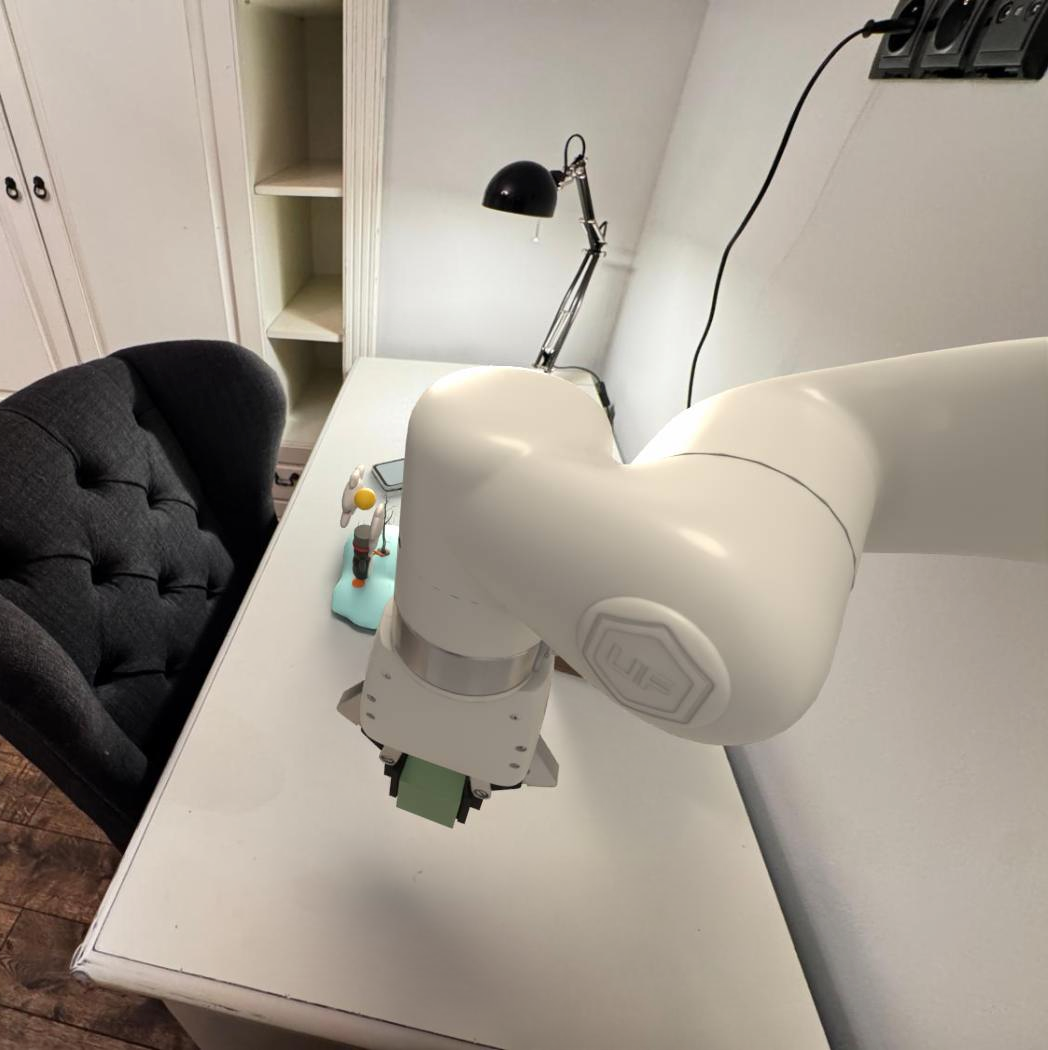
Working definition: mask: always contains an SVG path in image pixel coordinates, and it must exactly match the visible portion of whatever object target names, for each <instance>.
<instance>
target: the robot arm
mask: <svg viewBox="0 0 1048 1050" xmlns="http://www.w3.org/2000/svg"><path fill="white" fill-rule="evenodd" d="M613 436H614V435H613V427H612V425H611V422H610V420H609V417H608V415H607V413H606V410H604V408H603V407H602V406H601V404H600V402H598V401H597V400H596V399H595V398H594V397H593V396H592V395H590V394H589V392H587V391H586V390H584V389H583V388H582V387H580V386H578V385H577V384H575V383H573V382H571V381H568V380H567V379H564V378H562V377H559V376H556V375H554V374H550V373H547V372H543V371H538V370H535V369H530V368H524V367H516V366H496V365H495V366H493V365H490V366H478V367H471V368H467V369H462V370H459V371H456V372H453V373H450V374H448V375H446V376H444V377H441V378H440V379H438V380H437V381H435V382H434V383H432V384H431V385H430V386H429V387H428V388H426V390H425V391H424V392H422V394H421V395H420V396H419V398H418V400H417V401H416V403H415V405H414V406H413V408H412V410H411V413H410V416H409V419H408V424H407V431H406V437H405V446H404V447H405V448H404V457H403V458H404V471H403V484H402V488H401V498H400V511H399V523H398V527H399V534H398V547H397V559H396V572H395V584H394V595H393V596H392V597H391V598H390V599H389V600H388V602H387V603H386V606H385V608H384V610H383V612H382V615H381V618H380V621H379V624H378V628H377V629H376V631H375V634H374V637H373V641H372V644H371V647H370V651H369V655H368V660H367V665H366V670H365V674H364V679H363V680H361V681H360V682H358V683H356V684H354V685H353V686H351V687H350V688H348V689H346V690H344V691H343V692H342V694H341V696H340V698H339V701H338V703H337V704H336V707H335V710H336V711H337V712H338V713H339V714H340V715H341V716H343V717H344V718H346V719H347V720H348V721H350V722H351V723H352V724H354V725H355V726H360V732H361V734H363V735H364V737H366V739H368V741H370V742H371V743H372V744H373V745H374V746H375V747H376V748H378V750H380V752H379V754H378V759H379V760H380V761H381V762H382V763H383V764H384V767H383V776H386V777H389V778H390V783H389V792H388V796H389V797H392V798H395V799H397V795H398V787H399V780H400V776H401V773H402V771H403V769H404V766H405V763H406V760H407V757H408V754H409V755H412V756H414V757H417V758H420V759H423V760H425V761H428V762H431V763H434V764H436V765H439V766H442V767H445V768H448V769H451V770H453V771H456V772H459V773H462V774H465V775H466V778H465V782H464V787H463V791H462V797H461V802H460V805H459V809H458V812H457V816H456V819H455V820H457V821H456V822H457V823H460V824H462V825H465V824H466V821H467V819H468V816H469V813H470V809H471V808H472V809H474V810H477V811H481V807H482V804H483V802H484V800H490V799H491V798H492V794H493V793H492V792H496V791H497V792H498V791H509V790H519V789H522V786H523V785H526V786H527V787H532V788H534V787H536V788H556V787H557V786H558V782H559V772H560V764H559V763H558V760H557V759H556V758H555V756H554V755H553V753H552V751H551V750H550V748H549V746H548V745H547V743H546V742H545V740H544V738H543V737H542V734H541V731H542V727H543V723H544V720H545V717H546V711H547V707H548V702H549V698H550V692H551V686H552V681H553V678H554V671H555V669H554V660H555V656H560V657H561V658H562V659H563V660H564V661H566V662H567V663H568V664H569V665H570V666H571V667H572V668H573V669H574V670H575V671H577V672H578V673H579V674H580V675H581V676H582V677H581V678H583V679H584V680H585V681H586V682H588V683H589V684H590V685H591V686H593V688H595V689H597V690H598V691H599V692H600V693H601V694H603V695H604V696H606V697H607V698H608V699H609V700H611V701H612V702H614V704H616V705H617V706H619V707H620V708H622V709H623V710H625V711H627V712H628V713H630V714H631V715H633V716H635V717H636V718H637V719H639V720H641V721H642V722H644V723H646V724H647V725H650V726H652V727H654V728H656V729H659V730H660V731H662V732H665V733H667V734H669V735H672V736H675V737H677V738H681V739H684V740H687V741H691V742H695V743H700V744H703V745H712V746H719V747H720V746H721V747H733V746H735V747H736V746H747V745H751V744H755V743H760V742H764V741H768V740H769V739H771V738H774V737H776V736H778V735H779V734H782V733H783V732H786V731H787V730H788V729H790V728H792V727H793V726H794V725H795V724H796V723H797V722H799V721H800V720H801V719H802V718H803V716H804V715H805V714H806V713H807V712H808V710H809V709H810V708H811V707H813V704H814V703H816V701H817V699H818V697H819V695H820V693H821V691H822V689H823V686H824V684H825V682H826V680H827V679H828V676H829V674H830V672H831V669H832V664H833V662H834V658H835V654H836V651H837V647H838V644H839V640H840V636H841V632H842V628H843V624H844V619H845V616H846V611H847V607H848V604H849V600H850V595H851V592H852V591H853V589H854V587H855V583H856V578H857V574H858V570H859V567H860V563H861V559H862V556H863V554H864V553H865V554H867V553H868V554H911V555H912V554H914V555H917V554H919V555H924V554H925V555H945V556H946V555H949V556H963V557H979V558H989V559H990V558H991V559H1000V560H1007V561H1016V562H1024V563H1031V564H1038V565H1044V566H1048V336H1039V337H1029V338H1028V337H1027V338H1019V339H1010V340H1002V341H993V342H992V341H991V342H985V343H984V342H983V343H979V344H971V345H965V346H958V347H951V348H944V349H938V350H933V351H925V352H918V353H912V354H906V355H900V356H894V357H888V358H882V359H876V360H869V361H864V362H858V363H851V364H845V365H839V366H833V367H826V368H820V369H816V370H815V369H814V370H807V371H804V372H799V373H792V374H791V373H790V374H787V375H781V376H775V377H771V378H768V379H767V378H766V379H762V380H758V381H754V382H750V383H747V384H744V385H740V386H737V387H733V388H729V389H727V390H725V391H721V392H720V393H717V394H714V395H712V396H710V397H708V398H705V399H702V400H700V401H699V402H697V403H695V404H693V405H692V406H690V407H688V408H687V409H686V410H684V411H682V412H681V413H679V414H678V415H677V416H675V417H674V418H672V420H670V421H669V423H667V424H666V425H665V426H664V428H663V429H662V430H660V431H659V432H658V433H657V435H655V436H654V437H653V439H652V440H651V441H650V442H649V443H648V444H647V445H646V446H645V447H644V449H643V450H642V451H640V453H639V454H638V456H637V457H636V458H635V459H634V460H633V461H632V462H631V463H629V464H627V463H626V464H624V463H621V462H618V461H617V460H616V459H615V458H614V457H613V450H614V449H613V447H614V437H613Z"/></svg>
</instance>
